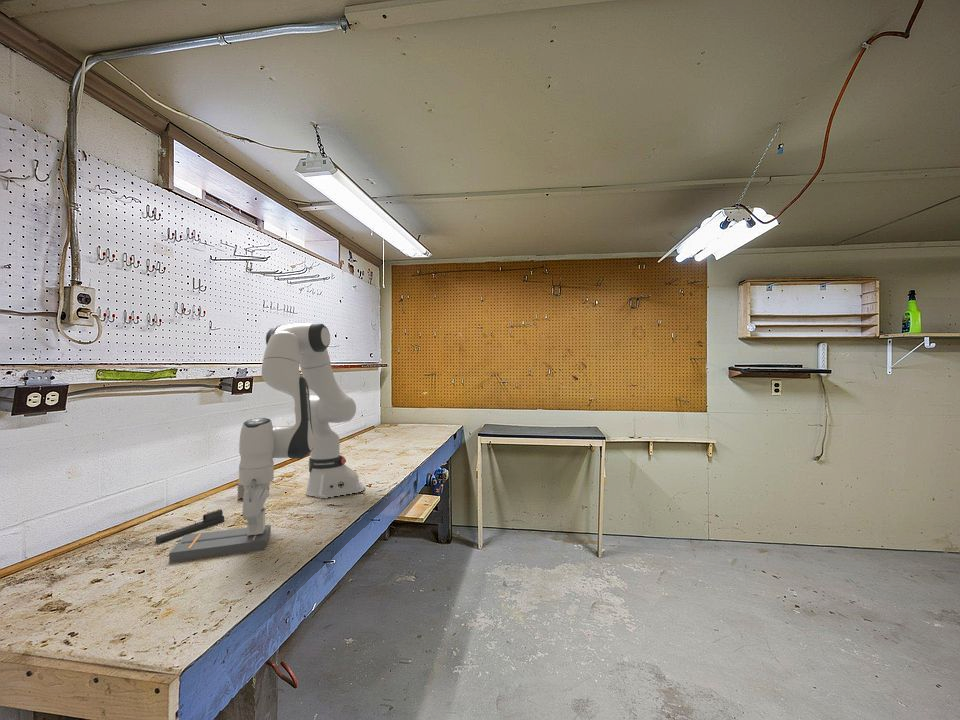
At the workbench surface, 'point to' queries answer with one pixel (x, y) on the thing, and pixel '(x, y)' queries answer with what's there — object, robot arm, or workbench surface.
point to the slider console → (218, 544)
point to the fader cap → (258, 524)
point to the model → (240, 491)
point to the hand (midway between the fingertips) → (256, 523)
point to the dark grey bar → (193, 526)
